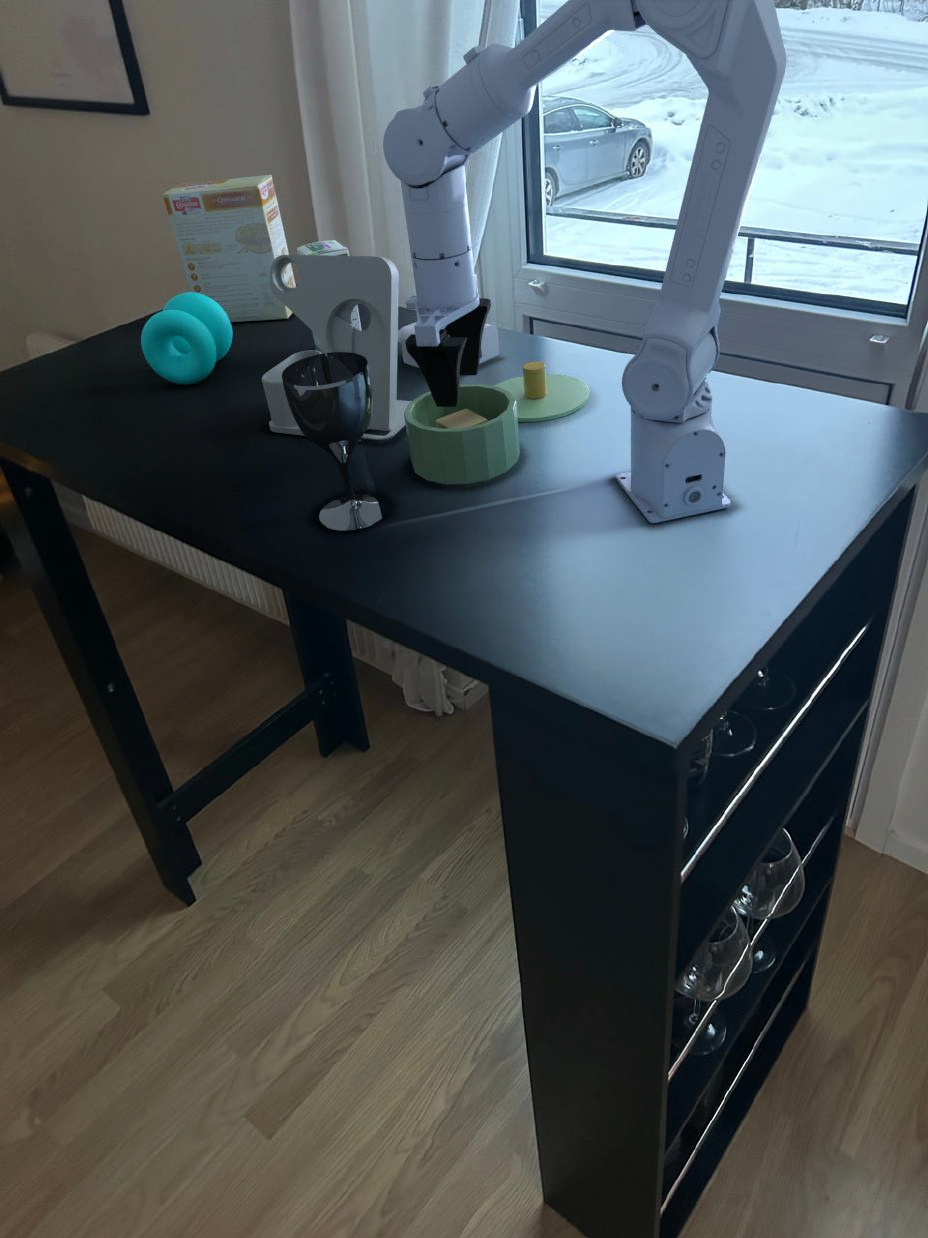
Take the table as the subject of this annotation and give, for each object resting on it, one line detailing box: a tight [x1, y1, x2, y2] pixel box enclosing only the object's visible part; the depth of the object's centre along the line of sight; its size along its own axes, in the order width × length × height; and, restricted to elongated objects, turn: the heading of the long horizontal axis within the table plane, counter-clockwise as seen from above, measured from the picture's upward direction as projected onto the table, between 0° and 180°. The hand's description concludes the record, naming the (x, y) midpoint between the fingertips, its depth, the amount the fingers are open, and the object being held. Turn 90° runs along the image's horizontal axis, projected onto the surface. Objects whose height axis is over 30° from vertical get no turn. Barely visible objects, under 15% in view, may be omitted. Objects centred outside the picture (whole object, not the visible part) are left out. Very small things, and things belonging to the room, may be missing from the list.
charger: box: [398, 322, 500, 369], centre depth 122 cm, size 5×9×15 cm
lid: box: [494, 360, 590, 423], centre depth 107 cm, size 12×12×5 cm
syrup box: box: [296, 239, 363, 352], centre depth 124 cm, size 6×6×14 cm
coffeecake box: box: [162, 174, 297, 323], centre depth 141 cm, size 15×7×20 cm, turn 82°
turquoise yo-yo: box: [140, 291, 234, 386], centre depth 125 cm, size 10×10×10 cm
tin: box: [404, 383, 521, 485], centre depth 96 cm, size 11×11×6 cm
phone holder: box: [261, 254, 413, 443], centre depth 105 cm, size 17×10×18 cm, turn 65°
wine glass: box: [282, 352, 385, 532], centre depth 88 cm, size 8×8×15 cm
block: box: [435, 408, 488, 429], centre depth 97 cm, size 4×4×4 cm
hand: (457, 389), depth 93 cm, fingers open, 7 cm apart
